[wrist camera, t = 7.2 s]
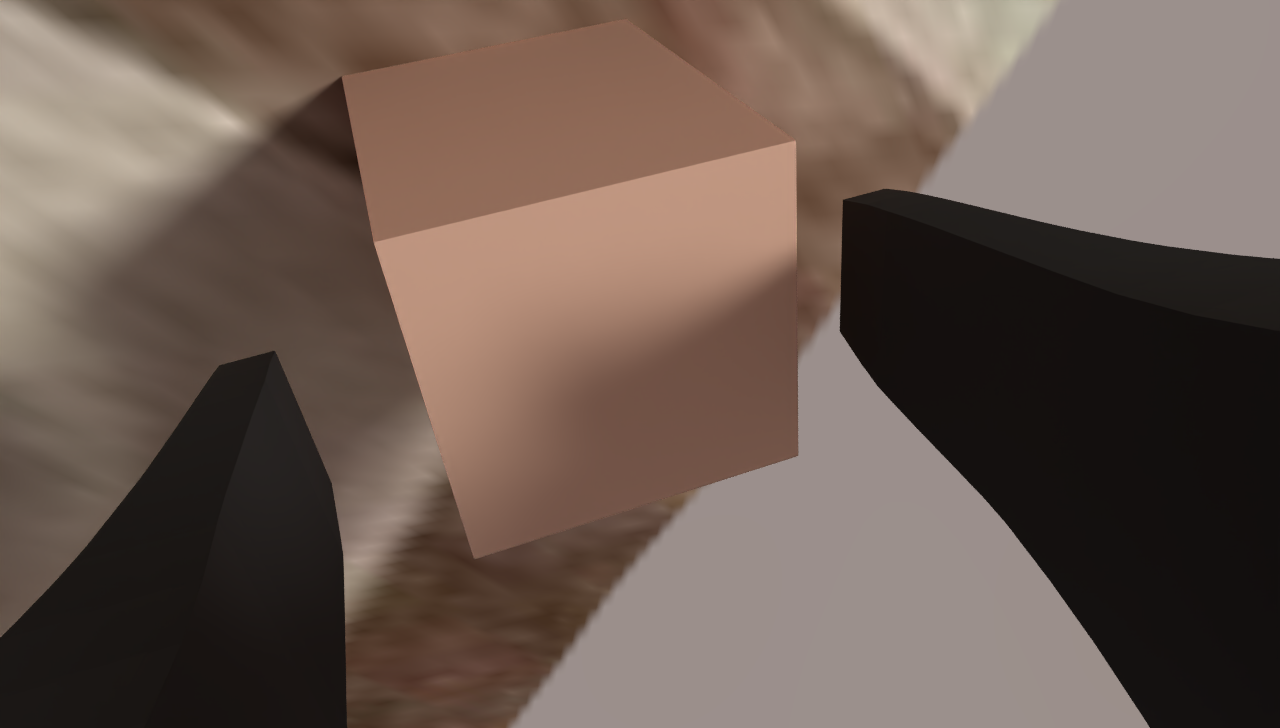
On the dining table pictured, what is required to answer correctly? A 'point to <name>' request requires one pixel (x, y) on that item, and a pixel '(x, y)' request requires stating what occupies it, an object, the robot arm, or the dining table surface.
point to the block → (583, 272)
